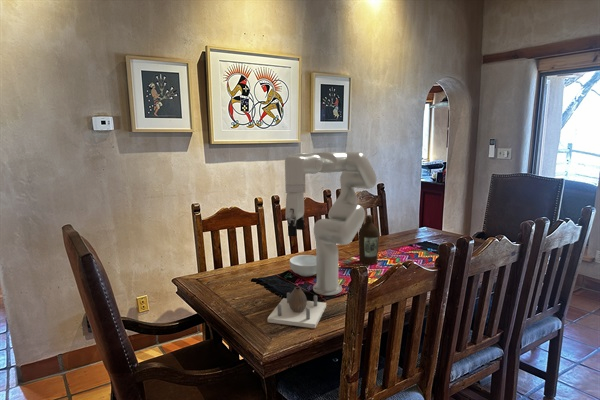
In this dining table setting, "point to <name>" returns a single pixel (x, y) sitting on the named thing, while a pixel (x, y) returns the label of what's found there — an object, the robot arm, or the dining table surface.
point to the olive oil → (368, 242)
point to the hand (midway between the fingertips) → (296, 232)
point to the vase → (297, 300)
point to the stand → (298, 313)
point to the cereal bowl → (303, 265)
